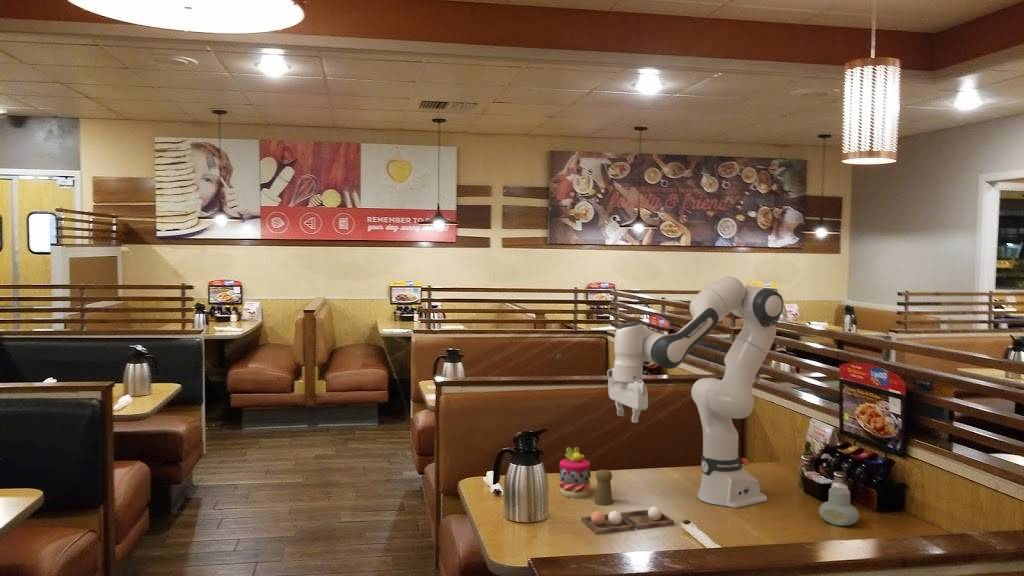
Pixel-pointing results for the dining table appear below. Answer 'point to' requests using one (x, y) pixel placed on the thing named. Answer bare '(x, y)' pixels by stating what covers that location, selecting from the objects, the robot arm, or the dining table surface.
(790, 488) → the dining table surface
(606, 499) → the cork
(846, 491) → the air freshener
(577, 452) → the cake
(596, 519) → the ball terracotta
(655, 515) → the cream ball
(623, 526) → the tray
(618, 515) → the cream ball
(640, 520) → the tray
